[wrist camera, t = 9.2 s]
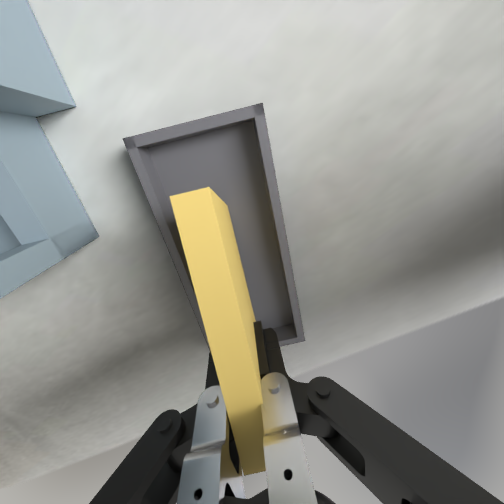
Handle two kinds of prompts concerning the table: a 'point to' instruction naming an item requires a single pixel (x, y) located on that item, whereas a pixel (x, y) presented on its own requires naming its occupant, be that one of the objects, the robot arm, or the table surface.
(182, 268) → the tray
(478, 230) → the table surface
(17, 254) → the dispenser
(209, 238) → the ticket
